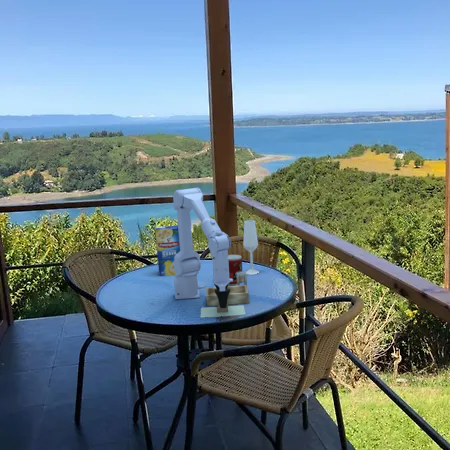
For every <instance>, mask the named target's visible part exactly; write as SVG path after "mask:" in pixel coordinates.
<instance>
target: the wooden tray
mask: <svg viewBox="0 0 450 450" xmlns="http://www.w3.org/2000/svg"><path fill="white" fill-rule="evenodd" d="M214 289H216V287H215V286H213V287H206V288H205V291H206V292H205V293H206V294H205V295H206V296H205V297H206V307H216V306H217V303H219V301H218V297H217V295H216V293H215V291H214ZM227 289H230V293H229V295H228V300H227V302H228V306H231V305H244V304H249V303H250V296H249V295H250V294H249V290H248V284H247V285H244V284H243V285H240V286H237V285H235V286H234V285H232V286H230V285H228V287H227Z"/></svg>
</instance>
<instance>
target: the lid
mask: <svg viewBox="0 0 450 450" xmlns="http://www.w3.org/2000/svg"><path fill="white" fill-rule="evenodd" d="M245 310H246V309H245V305H244V304H238V305H228V302H227V307H226V308H220V305H219V303H217V305H216V306H208V307H201V308H200V319H203V318H204V319H205V317H208V318H219V317H221V316H222V317H234V316H235V317H236V316H246V311H245Z"/></svg>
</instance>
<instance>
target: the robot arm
mask: <svg viewBox="0 0 450 450" xmlns="http://www.w3.org/2000/svg"><path fill="white" fill-rule="evenodd" d="M172 197H173V198H172V202H173V208H174V210H175V211H176V217H177V218H176V219H177V225H178V231H179V242H180V251H179V253H178V254H176V255H175V257H174V271H175V273H176V274H177V275H173V276H174V277H173V280H174V281H173V283H174V295H175V296H174V297H175V300H184V299H199V298H200V290H199V284H198V275H199V272H200V271H201V268H202V262H201V259H200V255H199V253H198V252H196V251H195V250H194V246H193V243H194V242H193V235H192V233H193V232H192V222H191V221H192V220H191V211H192V210H193V212H194V214H195V215H196V216H197V218H198V219H199V221H200V222H201V225H200V228H201V230H202V232H203V233H204V235H205V237H206V239H207V240H208V242H207V246H208V249H209V252H210V253H209V254H210V257H211V259H212V274H213V277H212V278H213V281H212V283H213V284H214V287H216V289H214V291H215V293H216V295H217V297H218V301H219V305H220V308H226V307H227V300H228V295H229V293H230V289H227V287H228V286H230V285H229V284H230V283H229V282H233V279H229V262H228V255H229V250H230V249H231V246H232V241H231V237H230V236H229V235H228V234H227V233H225V232H224V231H222V229H221V228H220V226H219V224H218V223H217V221H216V220H215V219H214V218H211V217H210V214H209V212H208V211H207V209H206V206H205V204H204V194H203V192H202V190H201V189H200V187H194V188H192V187H191V188H186V189H176V190H175V191H174V193H173V195H172Z"/></svg>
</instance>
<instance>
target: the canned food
mask: <svg viewBox="0 0 450 450" xmlns="http://www.w3.org/2000/svg"><path fill="white" fill-rule="evenodd" d="M228 262H229V279H233V282H229V284H232V285H237V274H236V272H242V271H243V258H242V256H241V255H240V254H228ZM239 283H242V282H240V278H239Z"/></svg>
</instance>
